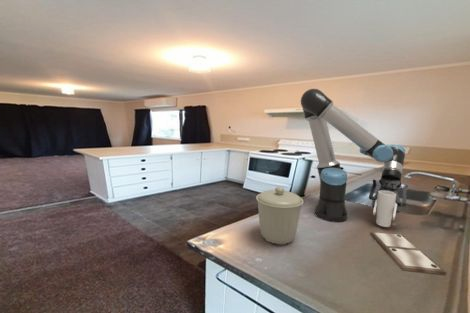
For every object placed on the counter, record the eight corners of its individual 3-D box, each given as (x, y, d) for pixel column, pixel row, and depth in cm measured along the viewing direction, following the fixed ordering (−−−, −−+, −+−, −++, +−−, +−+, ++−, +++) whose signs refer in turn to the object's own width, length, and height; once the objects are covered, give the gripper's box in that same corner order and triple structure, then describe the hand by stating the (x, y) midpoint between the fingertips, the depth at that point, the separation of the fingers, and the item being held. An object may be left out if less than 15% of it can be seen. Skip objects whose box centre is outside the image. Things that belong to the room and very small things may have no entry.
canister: (245, 237, 87) (247, 186, 84) (271, 223, 100) (272, 178, 97) (286, 256, 75) (289, 198, 72) (308, 237, 88) (312, 187, 85)
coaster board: (402, 270, 69) (403, 265, 68) (370, 234, 91) (370, 230, 91) (445, 275, 67) (446, 270, 66) (401, 237, 89) (402, 233, 89)
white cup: (370, 221, 100) (374, 190, 98) (384, 221, 101) (388, 190, 99) (381, 228, 94) (385, 195, 91) (396, 228, 94) (400, 195, 92)
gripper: (417, 181, 100) (411, 226, 90) (368, 174, 112) (359, 213, 102) (419, 171, 95) (413, 218, 85) (368, 165, 107) (358, 206, 97)
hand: (383, 215), depth 94 cm, fingers closed on white cup, 6 cm apart
